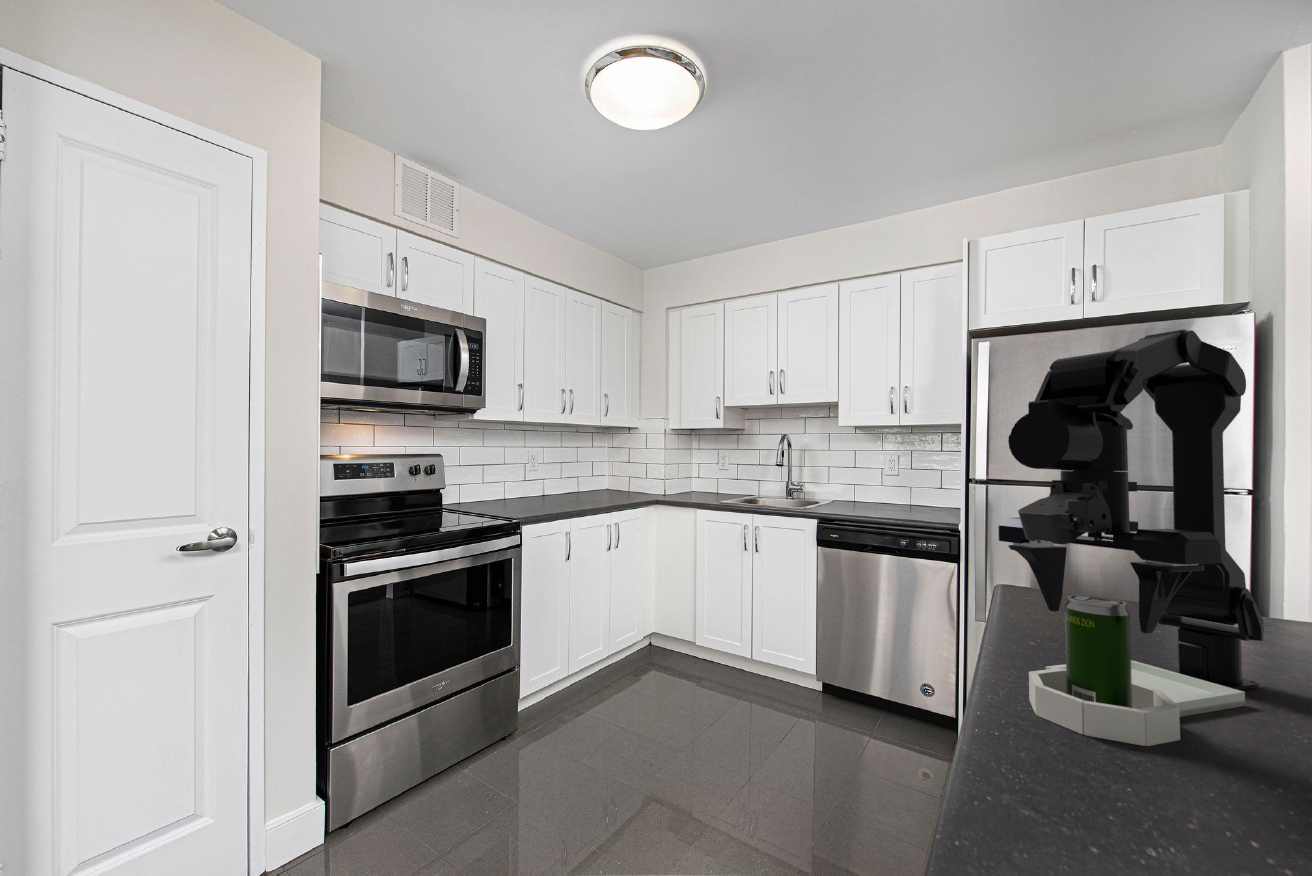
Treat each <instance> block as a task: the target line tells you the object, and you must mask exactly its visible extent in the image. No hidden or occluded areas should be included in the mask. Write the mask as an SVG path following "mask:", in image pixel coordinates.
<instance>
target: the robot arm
mask: <svg viewBox="0 0 1312 876" xmlns="http://www.w3.org/2000/svg"><path fill="white" fill-rule="evenodd" d="M1187 363H1188V364H1187ZM1246 390H1247V379H1246V375H1245V371H1244V369H1243V368H1242V367H1241V365H1240V364H1239V362H1238V361H1237V360H1236V358H1235V357H1234V355H1233V354H1232V353H1231V352H1230V351H1228V350H1225V349H1223V348H1221V347H1218V346H1216V345H1212V344H1210V343H1207V342H1206V341H1203V340H1201V339H1200V337H1199V336H1198V334H1197V332H1195V331H1194V330H1191V329H1190V330H1187V329H1178V330H1172V331H1171V330H1170V331H1166V332H1160V333H1153V334H1147V335H1146V336H1144V337H1142V338H1139V340H1137V341H1135V342H1132V343H1130V344H1127V345H1125V346H1122V347H1120V348H1119V347H1118V348H1116V349H1114V350H1111V351H1109V350H1108V351H1103V352H1097V353H1091V354H1090V353H1089V354H1083V355H1077V356H1071V357H1064V358H1058V359H1056V360H1054V361H1053V362H1052V363H1051V364H1050V366H1049V370H1048V371H1047V372H1046V374H1045V376H1044V379H1043V381H1042V383H1041V385H1040V387H1039V389H1038V392H1037V394H1036V397H1035V399H1034V400H1033V401H1029V402H1028V404H1027V405H1028V408H1027V409H1028V413H1026V414H1025V415H1023V416H1021V417H1020V418H1019V419H1018V420H1017V421H1016V422H1015V424H1014V425H1013V426H1012V428H1011V431H1010V434H1009V435H1008V448H1009V451H1010V453H1011V455H1012V456H1013V457H1014V459H1015V460H1016V461H1017V462H1018V463H1019V464H1021V465H1023V466H1024V467H1027V468H1031V469H1036V470H1054V471H1055V470H1056V471H1057V470H1059V471H1060V479H1059V480H1057V479H1051V484H1050V490H1049V491H1050V492H1049V496H1046V497H1043V498H1040V499H1037V500H1035V501H1033V502H1031V503H1029V504H1027V505H1025V506H1023V507H1021V508H1019V509H1018V510H1017V512H1018V515H1019V517H1004V518H1003V519H1002V521H1001V522H1000V523H999V525H998V535H997V536H998V541H999V542H1004V543H1011V544H1009V545H1008V548H1009V549H1010V550H1011V551H1015V552H1016V553H1018V554H1019V555H1020V556H1021V557H1022V558H1023V559H1024V560H1025V561H1026V562H1027V563H1028V565H1029V567H1030V569H1031V571H1032V573H1033V575H1034V577H1035V579H1036V582H1037V584H1038V586H1039V589H1040V593H1042V594H1041V595H1042V597H1043V600H1044V602H1045V604H1046V606H1047V608H1048V611H1050V612H1059V611H1060V608H1061V604H1062V599H1063V590H1064V580H1065V571H1066V570H1065V568H1066V559H1067V546H1059V545H1066V544H1073V545H1082V546H1090V547H1099V548H1107V549H1114V550H1122V551H1123V550H1124V551H1132V552H1134V553H1135V555H1137V556H1138V557H1139V558H1140V559H1141V560H1143V561H1133V562H1132V561H1131V562H1130V565H1131V568H1132V569H1133V571H1134V572H1135V574H1136V575H1137V577H1138V620H1139V627H1140V632H1141V633H1142V634H1146V635H1147V634H1148V635H1149V634H1152V633H1153V632H1154V631H1155V629H1156V627H1157V626H1158V624H1159V625H1162V626H1172V627H1176V628H1177V662H1178V665H1177V668H1171V669H1168V670H1169V671H1172V672H1176V673H1179V674H1183V675H1186V676H1190V677H1193V678H1197V679H1201V680H1204V681H1208V682H1211V683H1215V684H1218V685H1222V686H1226V687H1229V688H1233V689H1236V690H1240V691H1242V690H1243V691H1244V690H1248V689H1253V688H1254V689H1255V688H1259V687H1260V685H1259V682H1257V681H1254V680H1251V679H1250V680H1249V679H1245V678H1244V677H1243V675H1244V674H1243V672H1244V671H1243V652H1242V651H1243V649H1242V647H1243V646H1242V641H1246V642H1249V641H1258V642H1263V641H1264V631H1265V627H1264V618H1263V616H1262V614H1261V611H1260V610H1259V607H1258V606H1257V603H1256V602H1255V600H1254V598H1253V596H1252V594H1251V591H1250V590H1249V588H1247V586H1246V575H1245V572H1244V570H1243V569H1242V568H1241V567H1240V565H1238V563H1237V562H1236V560H1234V559H1233V557H1232V556H1231V555H1230V553H1229V552H1228V551H1227V548H1226V520H1225V519H1226V516H1225V513H1226V512H1225V507H1226V506H1225V476H1224V475H1225V473H1224V472H1225V471H1224V470H1225V469H1224V466H1225V465H1224V432H1225V431H1226V429H1227V428H1228V427H1229V426H1230V425H1231V423H1232V422H1233V421H1234V419H1235V418H1236V417H1237V416H1238V414H1240V412H1241V408H1242V407H1241V403H1242V396H1244V395H1245V394H1246ZM1143 391H1145V393H1147V395H1148V396H1149V397H1150V398H1151V399H1152V401H1153V402H1154V410H1155V413H1156V415H1157V416H1158V417H1159V418H1160V420H1161V421H1162V422H1163V423H1164V424H1165V425H1166V427H1167V428H1168V429H1169V430H1170V432H1171V437H1172V438H1171V440H1172V441H1171V442H1172V444H1171V445H1172V447H1171V448H1172V492H1173V493H1172V497H1173V498H1172V499H1173V503H1172V505H1173V528H1144V529H1143V528H1139V521H1133V520H1130V497H1129V496H1130V493H1129V492H1134V493H1135V492H1137V493H1138V481H1129V462H1128V461H1129V460H1128V457H1129V455H1128V454H1129V453H1128V430H1130V431H1131V430H1132V429H1133V427H1134V424H1133V423H1132V421H1131V420H1130V418H1128V417H1127V416H1124V414H1123V413H1121V412H1123V411H1124V409H1125V408H1126V407H1127V406H1128V405H1130V403H1131V402H1132V401H1133V400H1135V399H1136V398H1137V397H1138V396H1139V395H1140V394H1141V393H1142V392H1143ZM1086 533H1087V535H1084V534H1086ZM1103 534H1104V535H1103ZM1054 544H1055V545H1054ZM1235 625H1237V626H1235Z"/></svg>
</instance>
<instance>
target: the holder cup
mask: <svg viewBox="0 0 1312 876" xmlns="http://www.w3.org/2000/svg"><path fill="white" fill-rule="evenodd" d="M1028 695H1029V696H1028V698H1029V699H1028V700H1029V702H1030V705H1031V707H1032V709H1033V711H1034V714H1035V715H1036V716H1037V717H1040V718H1041V719H1045V720H1046V721H1049V722H1052V723H1054V724H1056V725H1059V726H1061V727H1063V728H1065V729H1068V730H1071V731H1073V732H1076V733H1078V734H1080V735H1084V736H1086V737H1092V738H1098V739H1105V740H1110V741H1116V742H1120V743H1126V744H1131V745H1137V746H1143V747H1145V746H1146V747H1149V746H1150V747H1151V746H1156V745H1161V744H1162V745H1163V744H1166V743H1172V742H1177V741H1180V740H1181V723H1180V722H1181V720H1180V718H1181V717H1180V715H1179V706H1178V705H1177V704H1175V703H1174V702H1173V701H1172V700H1171V699H1170V698H1169V697H1168V696H1167V695H1166V694H1165V693H1164V692H1162V691H1160V690H1157V689H1154V688H1151V687H1147V686H1144V685H1141V684H1138V683H1135V682H1132V708H1128V707H1122V706H1116V705H1109V704H1103V703H1097V702H1090V701H1085V700H1082V699H1079V698H1076V697H1074V696H1071V695H1068V694H1067V685H1066V669H1063V668H1061V669H1060V668H1056V669H1048V670H1046V669H1040V670H1033V671H1028Z"/></svg>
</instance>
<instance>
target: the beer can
mask: <svg viewBox="0 0 1312 876" xmlns="http://www.w3.org/2000/svg"><path fill="white" fill-rule="evenodd" d="M1127 606H1128V605H1127V602H1125V601H1122V600H1118V599H1114V598H1109V597H1103V596H1095V595H1085V594H1081V595H1080V594H1072V595H1067V602H1066V603H1065V604H1064V620H1065V622H1064V623H1065V624H1064V625H1065V627H1064V628H1065V629H1064V630H1065V664H1066V685H1067V694H1068V695H1071V696H1074V697H1076V698H1079V699H1082V700H1085V701H1090V702H1097V703H1103V704H1109V705H1116V706H1122V707H1128V708H1132V678H1131V660H1132V650H1131V649H1132V646H1131V645H1132V644H1131V614H1130V612H1129V609H1127Z"/></svg>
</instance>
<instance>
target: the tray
mask: <svg viewBox="0 0 1312 876" xmlns="http://www.w3.org/2000/svg"><path fill="white" fill-rule="evenodd" d="M1056 668H1060V669H1061V668H1063V669H1066V663H1065V664H1057V665H1049V666H1045V670H1048V669H1056ZM1131 678H1132V682H1135V683H1138V684H1141V685H1144V686H1147V687H1151V688H1154V689H1157V690H1160V691H1162V692H1164V693H1165V694H1166V695H1167V696H1168V697H1169V698H1170V699H1171V700H1172V701H1173V702H1174V703H1175V704H1177V705H1178V706H1179V715H1180V718H1183V717H1189V716H1195V715H1199V714H1206V713H1212V712H1216V711H1217V712H1218V711H1222V710H1223V711H1224V710H1228V709H1235V708H1240V707H1241V708H1242V707H1245V706H1246V692H1245V691H1244V690H1243V691H1242V690H1236V689H1233V688H1229V687H1226V686H1222V685H1218V684H1215V683H1211V682H1208V681H1204V680H1201V679H1197V678H1193V677H1190V676H1186V675H1183V674H1179V673H1176V672H1172V671H1169V669H1165V668H1161V667H1158V666H1154V665H1152V664H1147V663H1144V662H1139V661H1137V660H1132V659H1131Z"/></svg>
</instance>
